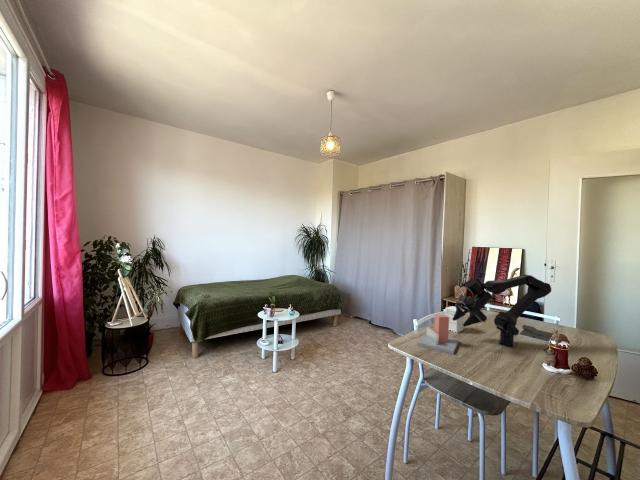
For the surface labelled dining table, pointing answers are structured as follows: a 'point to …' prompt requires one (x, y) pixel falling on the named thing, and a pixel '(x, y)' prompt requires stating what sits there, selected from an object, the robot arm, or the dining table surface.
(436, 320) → the boxed book
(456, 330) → the supplement box
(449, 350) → the shelf board
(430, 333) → the bookend
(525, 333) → the picture frame
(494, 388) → the dining table surface
